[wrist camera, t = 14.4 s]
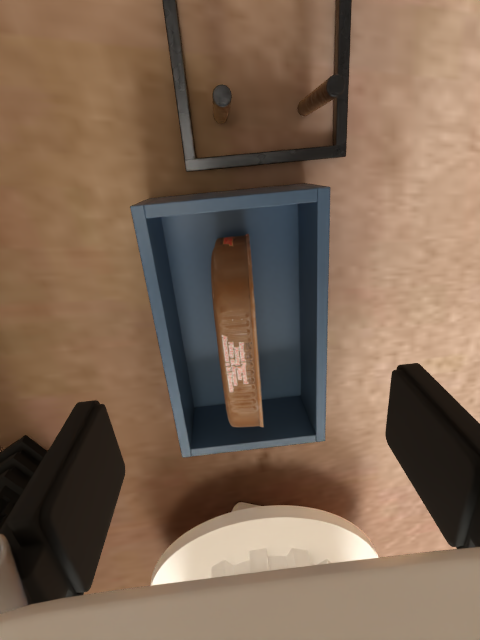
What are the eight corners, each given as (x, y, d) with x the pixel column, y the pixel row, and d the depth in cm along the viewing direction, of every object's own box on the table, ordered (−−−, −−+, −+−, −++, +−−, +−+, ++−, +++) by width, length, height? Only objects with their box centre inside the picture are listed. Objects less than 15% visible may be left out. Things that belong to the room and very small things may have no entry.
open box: (305, 183, 26) (330, 186, 20) (307, 396, 34) (325, 441, 29) (148, 198, 26) (129, 206, 20) (187, 409, 34) (182, 457, 28)
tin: (260, 385, 33) (273, 451, 25) (227, 388, 32) (230, 456, 25) (248, 224, 26) (262, 246, 19) (208, 228, 26) (205, 252, 19)
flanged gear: (195, 437, 36) (176, 689, 18) (395, 485, 41) (529, 719, 23) (136, 579, 44) (86, 839, 27) (307, 604, 49) (356, 837, 32)
